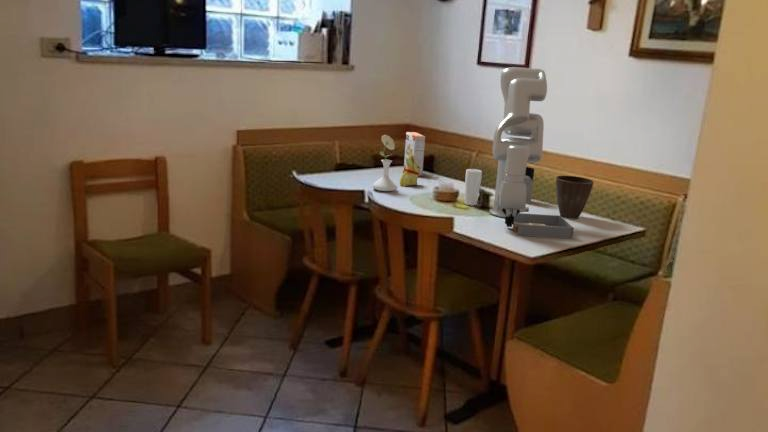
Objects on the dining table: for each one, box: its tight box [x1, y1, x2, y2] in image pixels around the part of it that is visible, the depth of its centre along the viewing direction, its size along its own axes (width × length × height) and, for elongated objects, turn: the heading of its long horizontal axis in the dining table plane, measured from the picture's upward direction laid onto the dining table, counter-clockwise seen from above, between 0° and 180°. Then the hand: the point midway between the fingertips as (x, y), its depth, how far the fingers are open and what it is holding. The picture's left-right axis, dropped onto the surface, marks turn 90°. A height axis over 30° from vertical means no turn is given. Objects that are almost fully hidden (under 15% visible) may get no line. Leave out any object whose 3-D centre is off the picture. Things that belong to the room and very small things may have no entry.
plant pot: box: [555, 175, 594, 220], centre depth 274 cm, size 15×15×16 cm
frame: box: [509, 212, 575, 239], centre depth 251 cm, size 20×18×4 cm
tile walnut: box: [512, 222, 530, 233], centre depth 249 cm, size 6×6×2 cm
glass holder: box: [525, 166, 535, 204], centre depth 301 cm, size 9×14×15 cm, turn 163°
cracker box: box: [403, 131, 426, 177], centre depth 344 cm, size 14×6×21 cm, turn 17°
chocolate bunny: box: [399, 154, 420, 187], centre depth 316 cm, size 7×11×15 cm, turn 124°
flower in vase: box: [372, 134, 398, 192], centre depth 300 cm, size 13×11×25 cm
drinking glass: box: [464, 168, 483, 207], centre depth 284 cm, size 7×7×15 cm
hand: (508, 226), depth 251 cm, fingers closed
